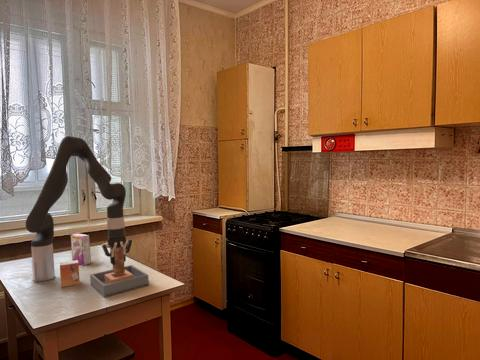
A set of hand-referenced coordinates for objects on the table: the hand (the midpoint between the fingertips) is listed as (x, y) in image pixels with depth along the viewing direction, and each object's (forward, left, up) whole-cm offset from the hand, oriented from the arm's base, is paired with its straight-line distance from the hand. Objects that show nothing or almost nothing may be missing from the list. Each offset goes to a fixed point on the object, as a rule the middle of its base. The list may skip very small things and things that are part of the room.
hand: (118, 263), depth 159 cm
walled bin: (0, 0, -10) cm, 10 cm away
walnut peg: (0, 0, -4) cm, 4 cm away
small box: (-17, +18, -11) cm, 27 cm away
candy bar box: (-4, +50, -11) cm, 51 cm away
